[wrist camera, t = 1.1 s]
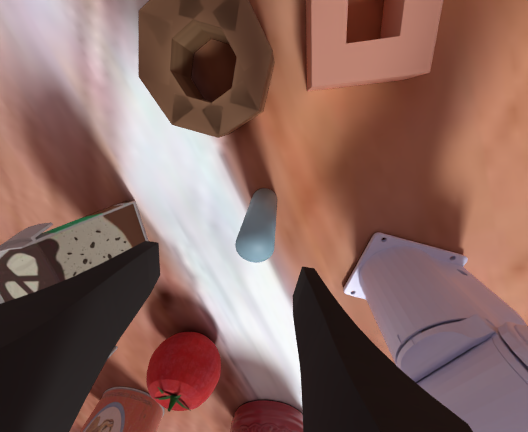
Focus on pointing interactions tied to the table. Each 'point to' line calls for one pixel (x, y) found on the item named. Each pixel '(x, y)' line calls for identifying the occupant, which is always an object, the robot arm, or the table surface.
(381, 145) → the table surface
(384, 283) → the robot arm
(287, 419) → the canister
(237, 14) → the walnut bead
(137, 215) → the food container
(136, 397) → the canned food
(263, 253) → the dowel
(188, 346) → the tomato
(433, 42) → the brick bead
